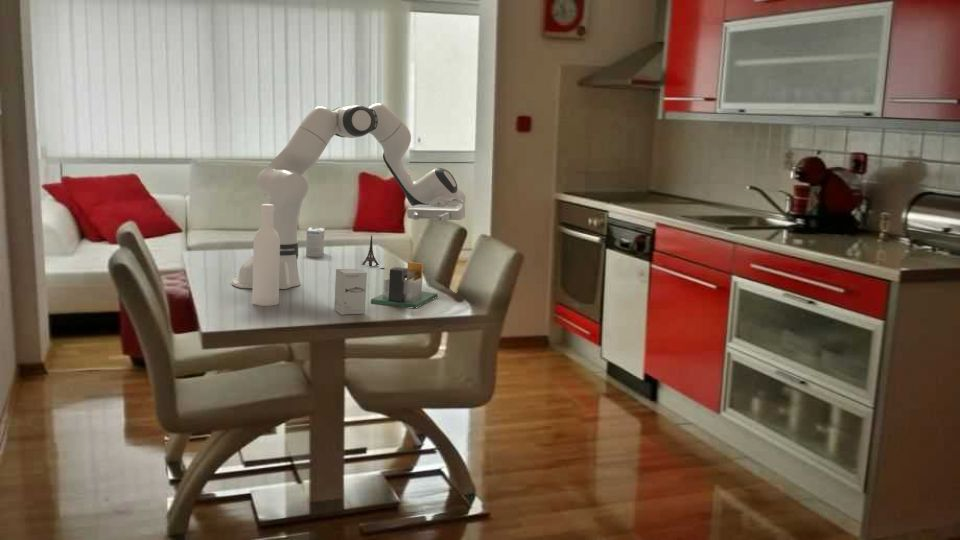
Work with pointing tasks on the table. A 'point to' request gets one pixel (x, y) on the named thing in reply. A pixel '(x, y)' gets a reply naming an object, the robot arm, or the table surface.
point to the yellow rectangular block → (414, 270)
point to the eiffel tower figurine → (370, 256)
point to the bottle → (266, 260)
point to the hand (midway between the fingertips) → (427, 217)
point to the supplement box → (350, 291)
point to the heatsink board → (403, 290)
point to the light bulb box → (315, 242)
